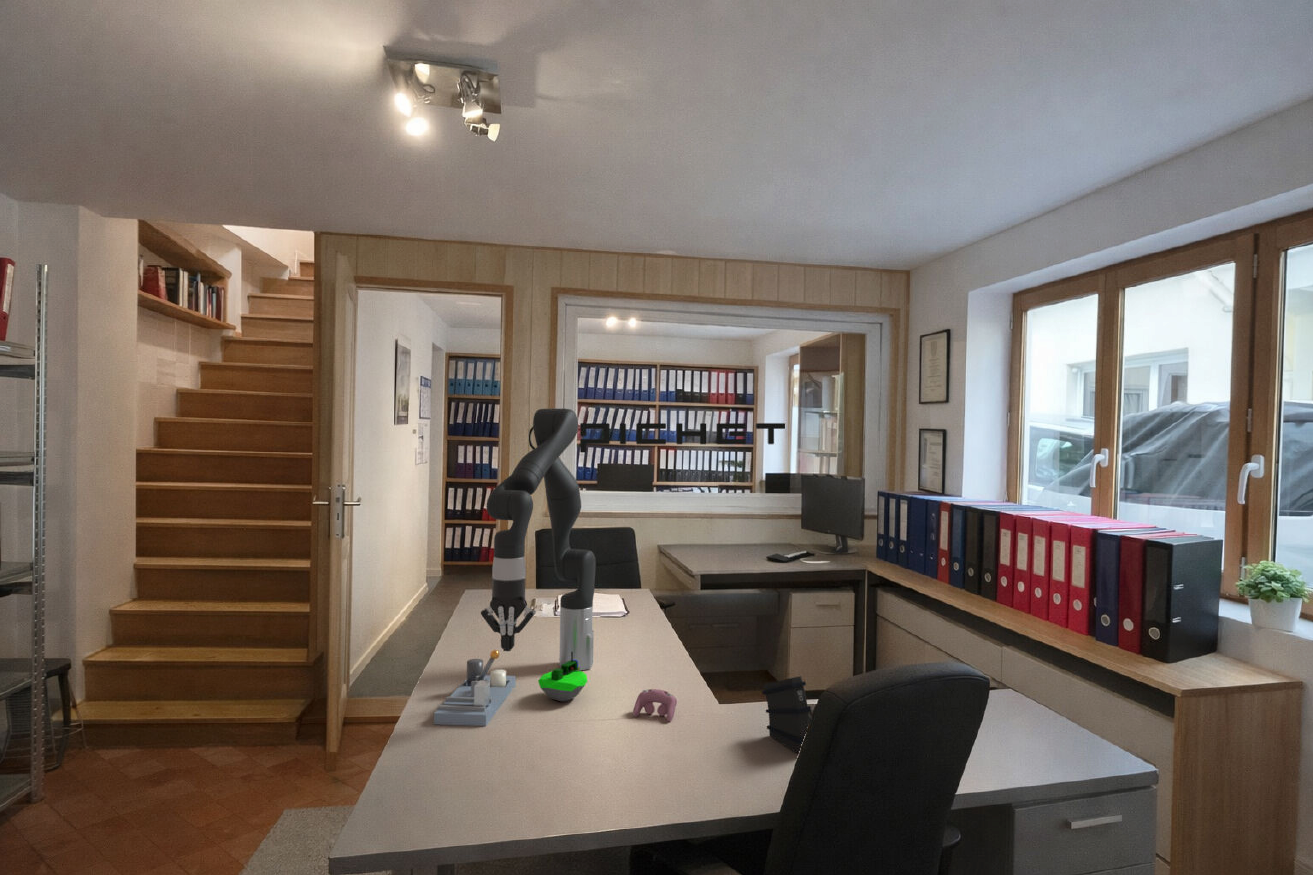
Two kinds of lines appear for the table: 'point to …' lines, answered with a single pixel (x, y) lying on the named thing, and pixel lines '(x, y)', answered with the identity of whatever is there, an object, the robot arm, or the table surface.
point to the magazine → (787, 711)
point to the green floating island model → (563, 681)
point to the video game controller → (657, 696)
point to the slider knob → (482, 693)
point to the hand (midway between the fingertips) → (507, 650)
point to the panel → (472, 704)
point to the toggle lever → (488, 664)
